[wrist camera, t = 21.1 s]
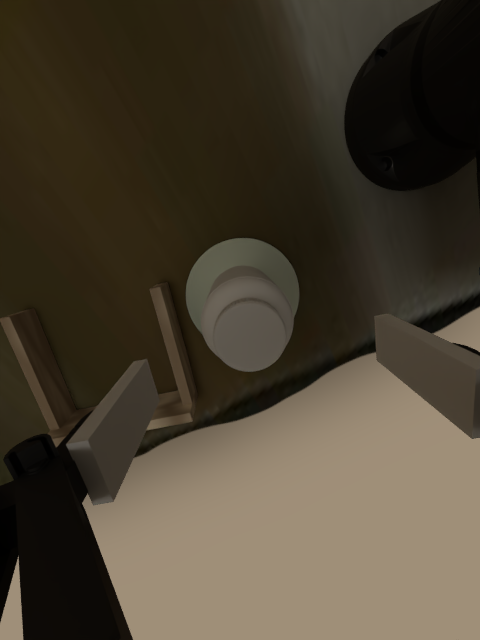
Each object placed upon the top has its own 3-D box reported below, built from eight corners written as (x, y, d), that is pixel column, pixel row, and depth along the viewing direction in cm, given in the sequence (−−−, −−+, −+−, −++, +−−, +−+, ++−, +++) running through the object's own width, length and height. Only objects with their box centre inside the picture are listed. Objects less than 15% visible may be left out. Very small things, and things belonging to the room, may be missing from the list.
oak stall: (167, 281, 34) (155, 289, 28) (198, 394, 38) (192, 421, 33) (24, 310, 34) (-17, 323, 28) (71, 418, 39) (43, 449, 33)
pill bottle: (200, 275, 33) (178, 302, 18) (265, 256, 32) (294, 268, 18) (220, 335, 35) (214, 402, 20) (281, 318, 34) (319, 372, 20)
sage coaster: (288, 227, 33) (291, 227, 31) (303, 335, 36) (305, 338, 35) (174, 250, 33) (172, 250, 32) (201, 355, 37) (200, 359, 36)
